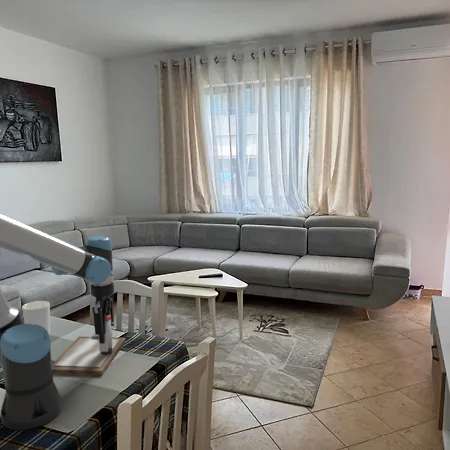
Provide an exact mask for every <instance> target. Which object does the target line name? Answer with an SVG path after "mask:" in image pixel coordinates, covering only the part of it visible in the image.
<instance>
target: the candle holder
mask: <svg viewBox="0 0 450 450" xmlns="http://www.w3.org/2000/svg"><path fill="white" fill-rule="evenodd" d="M50 308H51V303H50V302H49V301H46V300H35V301H30V302H27V303H26V304H23V305H22V306H21V309H22V310H21V311H22V315H23V321H24V323H25V324H32V325H35V324H37V325H40V326H42V327H44V328H45V329H46V330H47V331H48V334H49V335H50V333H51V309H50Z"/></svg>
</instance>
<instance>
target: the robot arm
mask: <svg viewBox="0 0 450 450" xmlns="http://www.w3.org/2000/svg"><path fill="white" fill-rule="evenodd" d="M0 248H1V249H3V250H7V251H10V252H12V253H15V254H17V255H20V256H23V257H25V258H28V259H30V260H33V261H36V262H39V263H41V264H44V265H46V266H48V267H51V270H52V272H53V274H54V275H56V276H65V275H69V274H71V275H72V276H74V277H78V278H80V279H82V280H86V281H87V282H89V283H90V284H89V285H90V295H91V296H92V297H94V298H95V303H94V305H95V306H93V307H92V309H91V311H92V314H93V325H94V334H95V335H98V337H99V351H102V352H107V351H108V342H107V333H106V314H109V315H111V335H112V336H113V328H112V327H115V323H114V322H115V316H114V315H115V314H114V313H115V312H114V293H115V284H114V282H113V281H114V276H115V273H114V272H113V271H114V270H113V268H114V267H113V254H112V252H113V248H112V241H111V238H109V237H108V236H99V235H98V236H92V237H89V238H88V239H87V241H86V245H83V246H75V245H73V244H71V243H68V242H67V241H64V240H63V239H59V238H57V237H55V236H53V235H49V234H48V233H46V232H43V231H42V230H39V229H37V228H34V227H32V226H30V225H27V224H25V223H23V222H21V221H18V220H16V219H14V218H11V217H9V216H7V215H4V214H2V213H0ZM51 342H52V341H51V338H50V334H48V331H47V330H46V329H45V328H44V327H42V326H40V325H37V324H35V325H32V324H25V322H24V318H23V317H22V315H21V313H20V310H19V309H18V308H17V307H14V306H12V305H11V306H10V304H9V302H8V300H7V298H6V296H5V295H4V292H3V290H2V288H1V287H0V368H2V371H3V379H4V388H5V393H4V397H3V401H2V405H1V408H0V422H2V423H1V425H2V424H3V425H4V426H5V427H4V426H3V425H2V426H3V427H4V428H6V427H7V428H6V429H8V428H9V429H8V430H13V431H26V430H31V429H35V428H38V427H41V426H43V425H45V424H47V423H50V422H51V421H52V420H54V419H55V418H56V417H58V415H59V414H60V413H61V411H62V408H63V402H62V401H63V400H62V396H61V394H60V392H59V390H58V388H57V385H56V383H55V382H54V375H53V374H52V364H53V362H52V352H51V351H52V350H51V349H52V348H51V347H52V346H51V345H52V344H51ZM112 345H113V340H112Z"/></svg>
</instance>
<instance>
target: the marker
mask: <svg viewBox="0 0 450 450" xmlns="http://www.w3.org/2000/svg"><path fill="white" fill-rule="evenodd" d="M111 327H112V326H111V315H109V314H106V333H107V342H108V351H107V352H102V351H100V353H101V354H103V355H107V354H110V353H112V337H113V334H112V335H111Z"/></svg>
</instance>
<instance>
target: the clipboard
mask: <svg viewBox="0 0 450 450" xmlns="http://www.w3.org/2000/svg"><path fill="white" fill-rule="evenodd" d="M112 340H113V345H112V353H110V354H107V355H103V354H101V353H100V351H99V337H98V335H95V333H93V334H92V336H78V337H76V339H75V340H74V341H73V342H72V343H71V344H70V345H69V346H68V347H67V348H66V349H65V350H64V351H63V352H62V353H61V354H60V355H59V356H58V358H56V359H55V360H54V361H53V362H52V374H54V375H77V376H78V375H79V376H80V375H81V376H103V375H104V374H105V372H106V371H107V369H108V368H109V366H110V365H111V364H112V362H113V361H114V360H115V358H116V356H117V355H118V354H119V352H120V350H121V349H122V348H123V347H124V345H125V343H126V342H127V340H126V337H113V336H112Z"/></svg>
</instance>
